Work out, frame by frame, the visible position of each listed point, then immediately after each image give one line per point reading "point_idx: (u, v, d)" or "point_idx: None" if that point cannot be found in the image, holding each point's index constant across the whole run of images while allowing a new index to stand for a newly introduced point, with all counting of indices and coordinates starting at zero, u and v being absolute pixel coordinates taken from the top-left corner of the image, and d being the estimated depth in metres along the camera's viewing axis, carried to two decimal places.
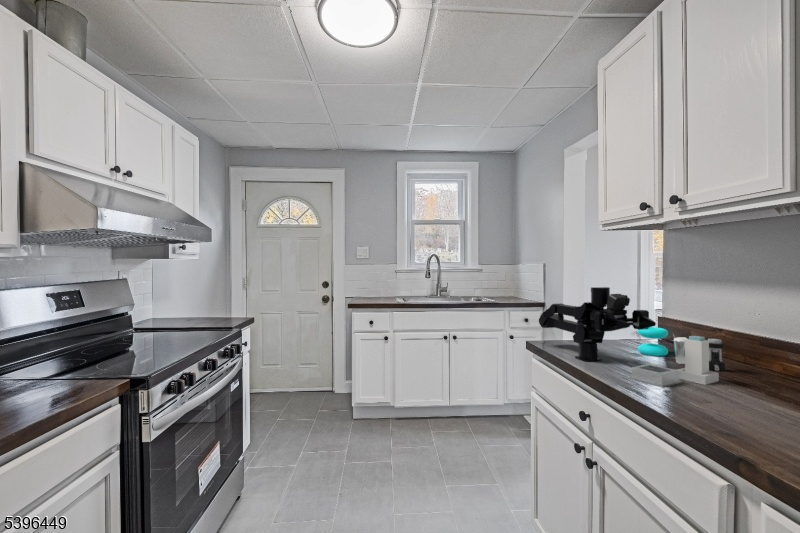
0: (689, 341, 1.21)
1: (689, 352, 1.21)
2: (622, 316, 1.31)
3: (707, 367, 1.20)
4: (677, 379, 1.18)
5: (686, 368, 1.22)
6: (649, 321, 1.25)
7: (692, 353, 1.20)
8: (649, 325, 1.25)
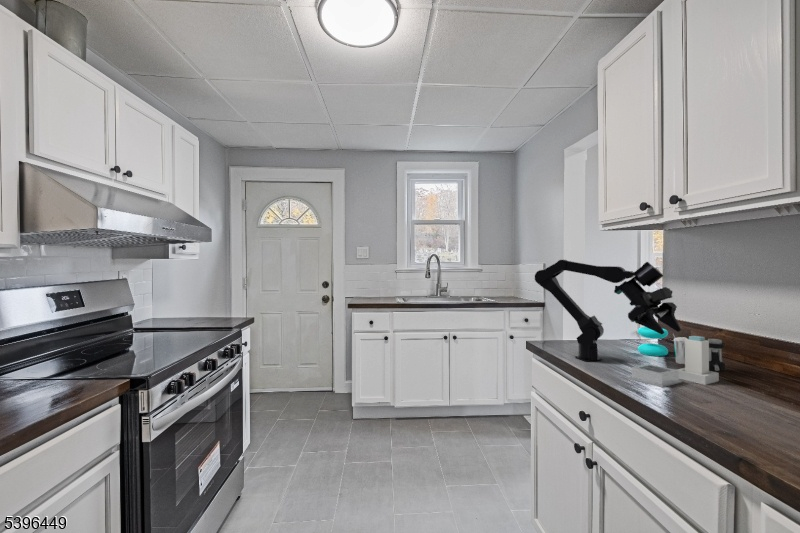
0: (689, 341, 1.21)
1: (689, 352, 1.21)
2: (655, 309, 1.32)
3: (707, 367, 1.20)
4: (677, 379, 1.18)
5: (686, 368, 1.22)
6: (675, 325, 1.30)
7: (692, 353, 1.20)
8: (672, 327, 1.31)
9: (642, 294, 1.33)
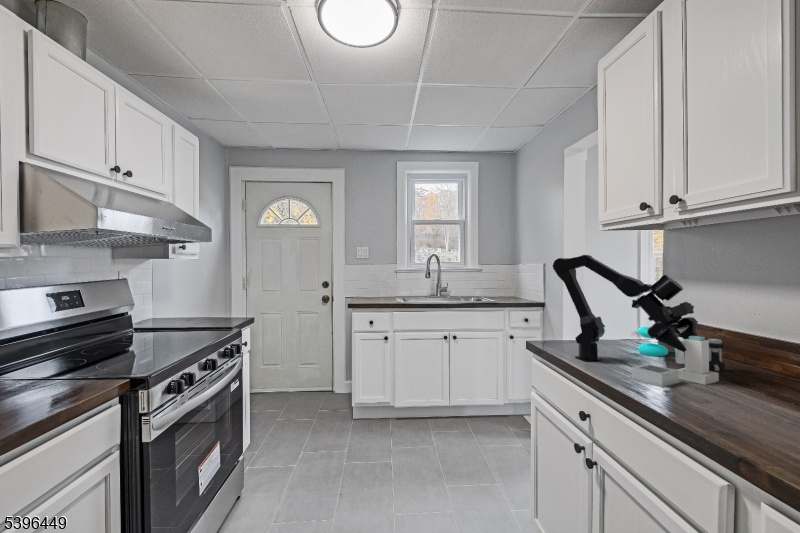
0: (689, 341, 1.21)
1: (689, 352, 1.21)
2: (675, 324, 1.26)
3: (707, 367, 1.20)
4: (677, 379, 1.18)
5: (686, 368, 1.22)
6: None
7: (692, 353, 1.20)
8: None
9: (662, 309, 1.27)
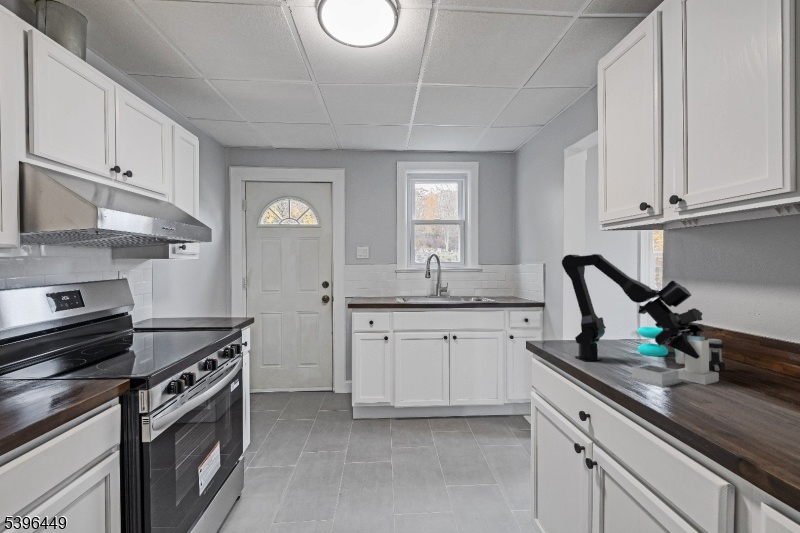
0: (689, 341, 1.21)
1: None
2: (687, 331, 1.26)
3: (707, 367, 1.19)
4: (677, 379, 1.18)
5: (686, 368, 1.22)
6: None
7: None
8: None
9: (669, 315, 1.25)
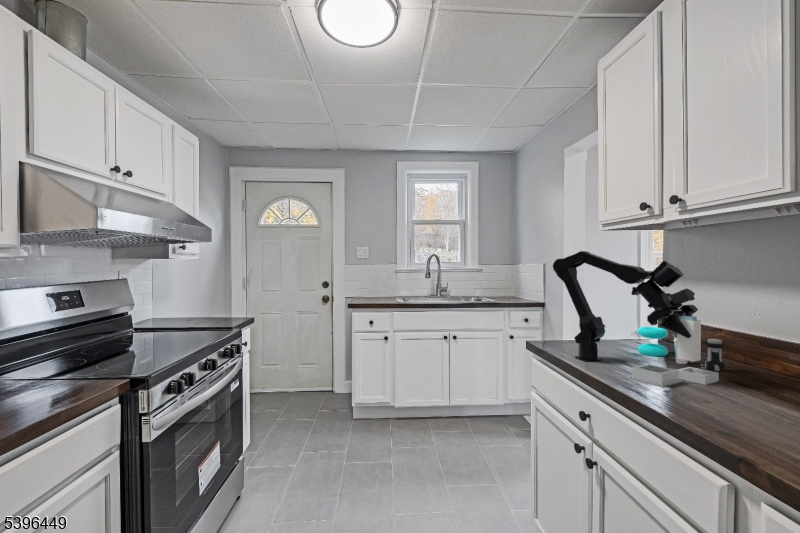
0: (681, 321, 1.21)
1: None
2: (680, 311, 1.26)
3: (699, 346, 1.20)
4: (677, 379, 1.18)
5: (678, 348, 1.22)
6: None
7: None
8: None
9: (662, 296, 1.25)
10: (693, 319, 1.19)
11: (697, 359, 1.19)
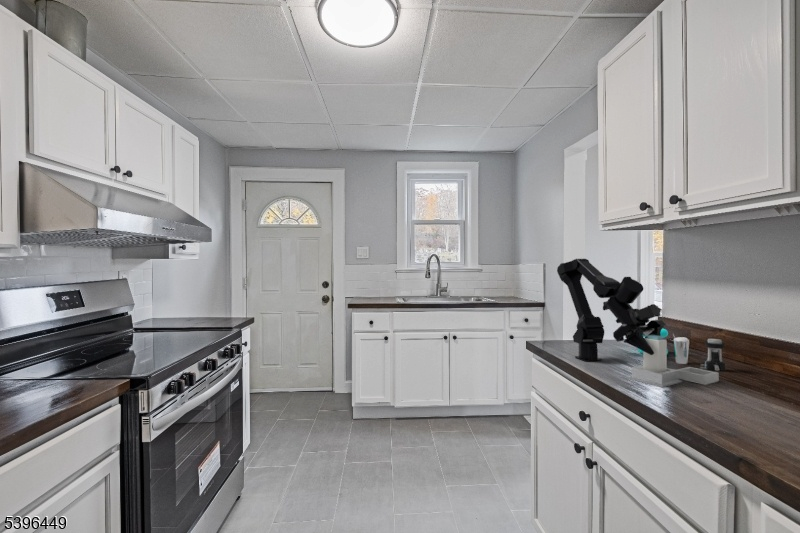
0: (647, 340, 1.20)
1: None
2: (645, 327, 1.24)
3: (665, 366, 1.19)
4: (677, 379, 1.18)
5: (644, 367, 1.21)
6: None
7: None
8: None
9: (629, 311, 1.25)
10: (658, 339, 1.19)
11: None
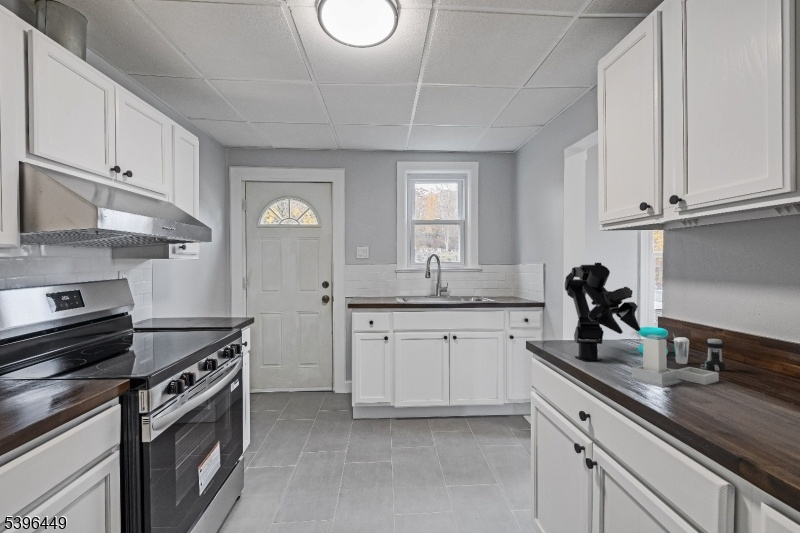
0: (647, 340, 1.20)
1: (647, 351, 1.20)
2: (615, 308, 1.32)
3: (665, 366, 1.19)
4: (677, 379, 1.18)
5: (644, 367, 1.21)
6: (635, 324, 1.30)
7: (650, 352, 1.20)
8: (632, 327, 1.31)
9: (603, 293, 1.33)
10: (658, 339, 1.19)
11: None
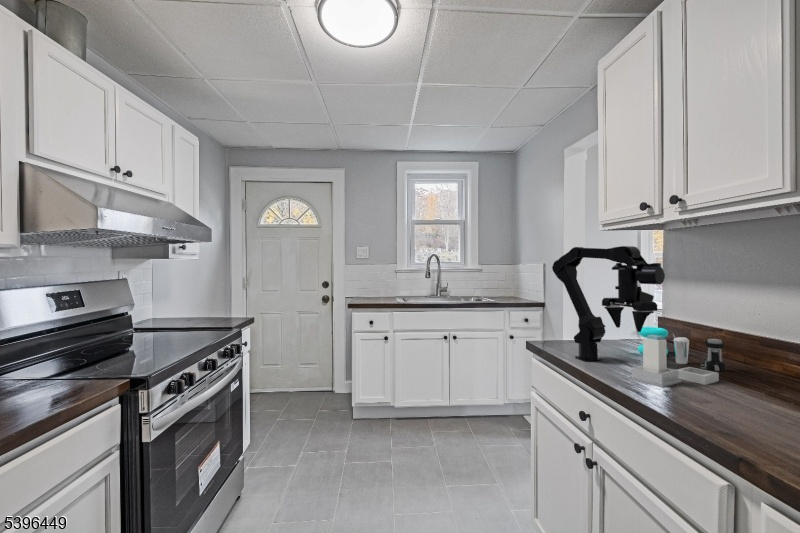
0: (647, 340, 1.20)
1: (647, 351, 1.20)
2: (630, 304, 1.35)
3: (665, 366, 1.19)
4: (677, 379, 1.18)
5: (644, 367, 1.21)
6: (619, 321, 1.39)
7: (650, 352, 1.20)
8: (616, 321, 1.39)
9: (640, 289, 1.33)
10: (658, 339, 1.19)
11: None
